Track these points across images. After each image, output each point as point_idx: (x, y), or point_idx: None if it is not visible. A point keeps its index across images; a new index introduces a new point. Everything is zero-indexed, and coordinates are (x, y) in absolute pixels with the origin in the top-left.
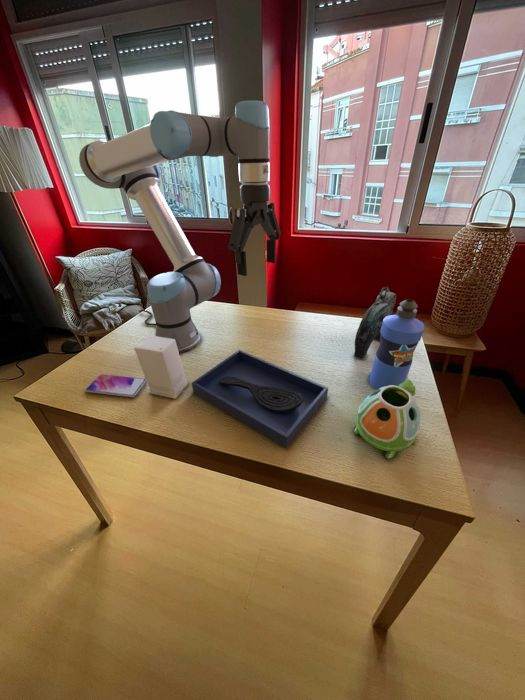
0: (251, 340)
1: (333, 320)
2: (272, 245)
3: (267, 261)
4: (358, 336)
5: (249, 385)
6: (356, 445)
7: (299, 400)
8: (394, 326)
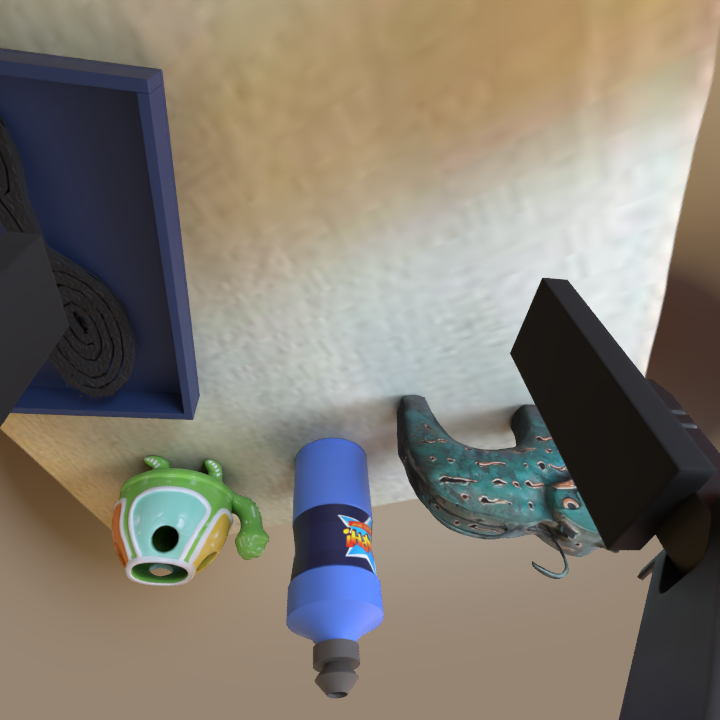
0: (328, 21)
1: (623, 284)
2: (590, 480)
3: (541, 287)
4: (406, 453)
5: None
6: (124, 462)
7: (98, 389)
8: (297, 621)
